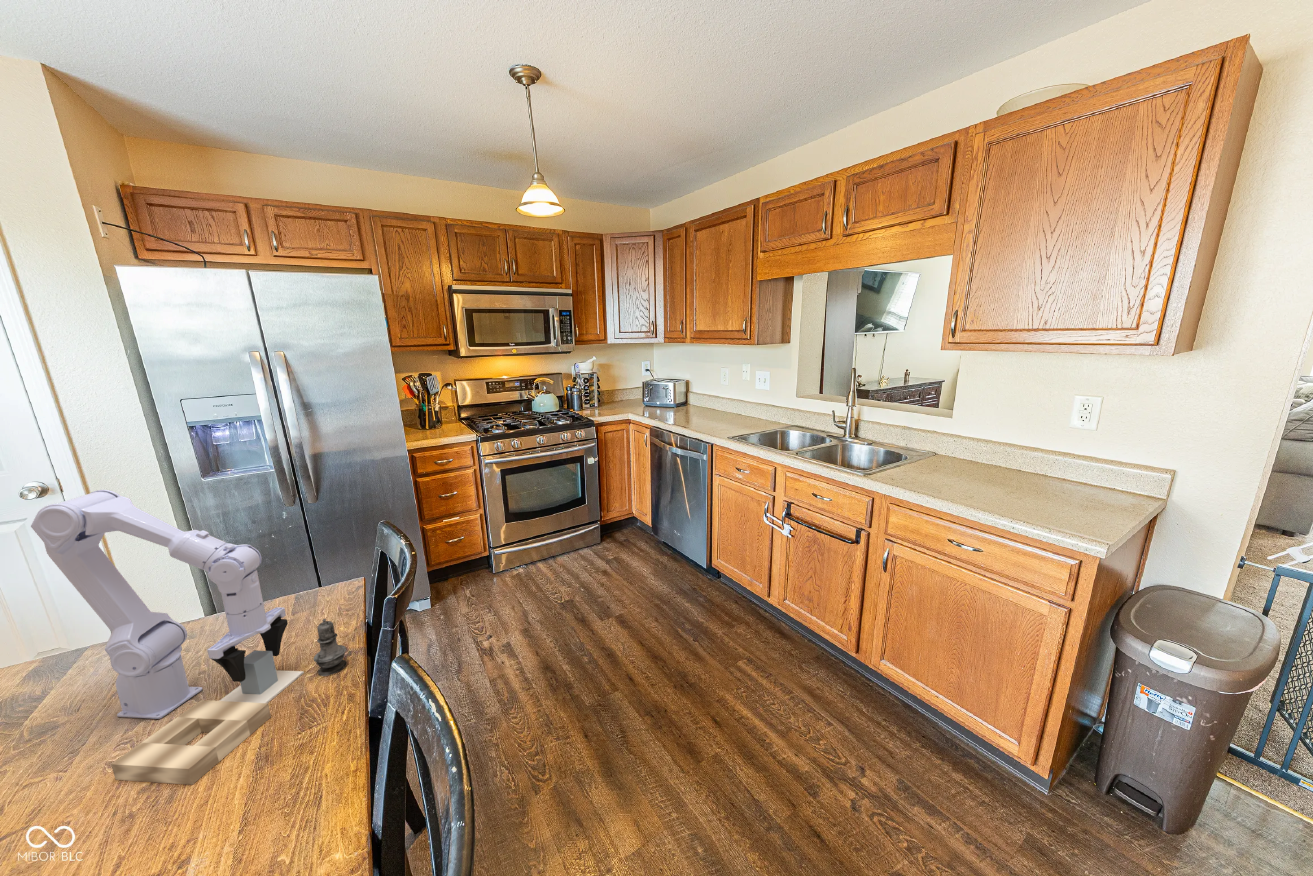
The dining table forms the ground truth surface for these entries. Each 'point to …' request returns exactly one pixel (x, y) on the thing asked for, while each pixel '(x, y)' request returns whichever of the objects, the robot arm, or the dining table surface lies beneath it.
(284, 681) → the coaster
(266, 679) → the peg
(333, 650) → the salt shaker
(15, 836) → the dining table surface
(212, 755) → the pocket board
